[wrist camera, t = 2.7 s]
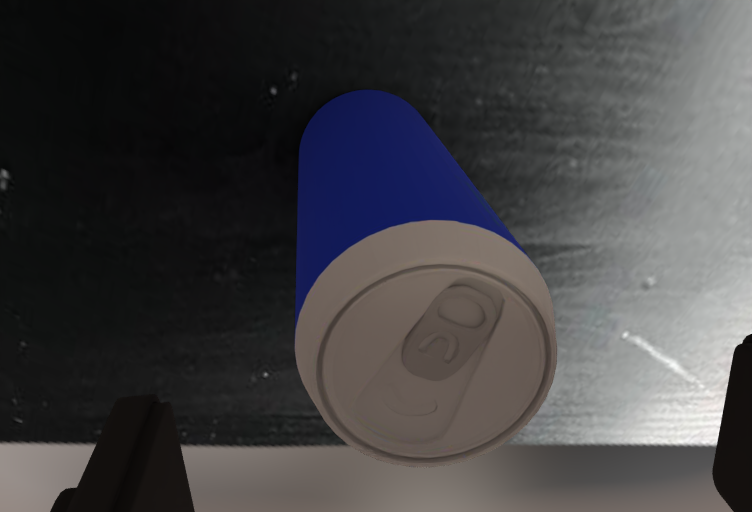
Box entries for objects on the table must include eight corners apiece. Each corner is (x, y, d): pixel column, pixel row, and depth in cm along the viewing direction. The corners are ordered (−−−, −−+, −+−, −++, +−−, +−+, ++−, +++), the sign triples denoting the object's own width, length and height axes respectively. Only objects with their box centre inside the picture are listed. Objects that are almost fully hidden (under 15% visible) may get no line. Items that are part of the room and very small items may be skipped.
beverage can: (392, 236, 27) (481, 510, 14) (276, 183, 26) (248, 430, 12) (455, 124, 26) (627, 309, 12) (335, 62, 24) (376, 191, 11)
